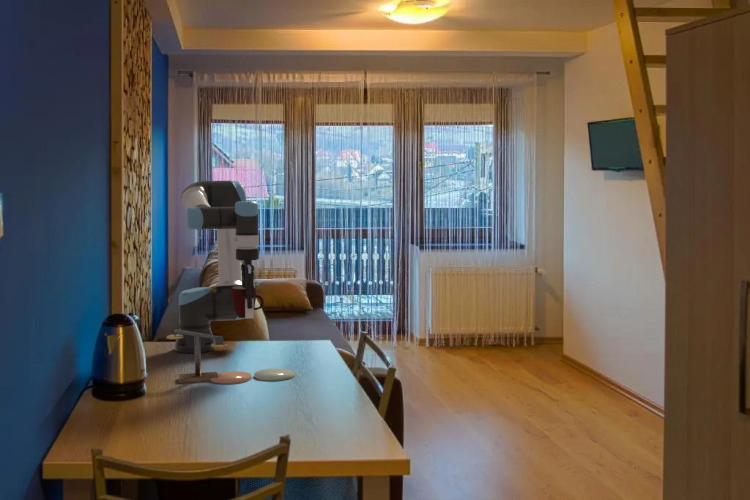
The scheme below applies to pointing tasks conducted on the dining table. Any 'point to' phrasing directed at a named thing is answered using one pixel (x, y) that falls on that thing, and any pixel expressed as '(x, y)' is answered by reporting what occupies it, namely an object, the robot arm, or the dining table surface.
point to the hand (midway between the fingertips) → (248, 316)
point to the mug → (243, 300)
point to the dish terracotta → (231, 377)
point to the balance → (198, 356)
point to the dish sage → (274, 374)
